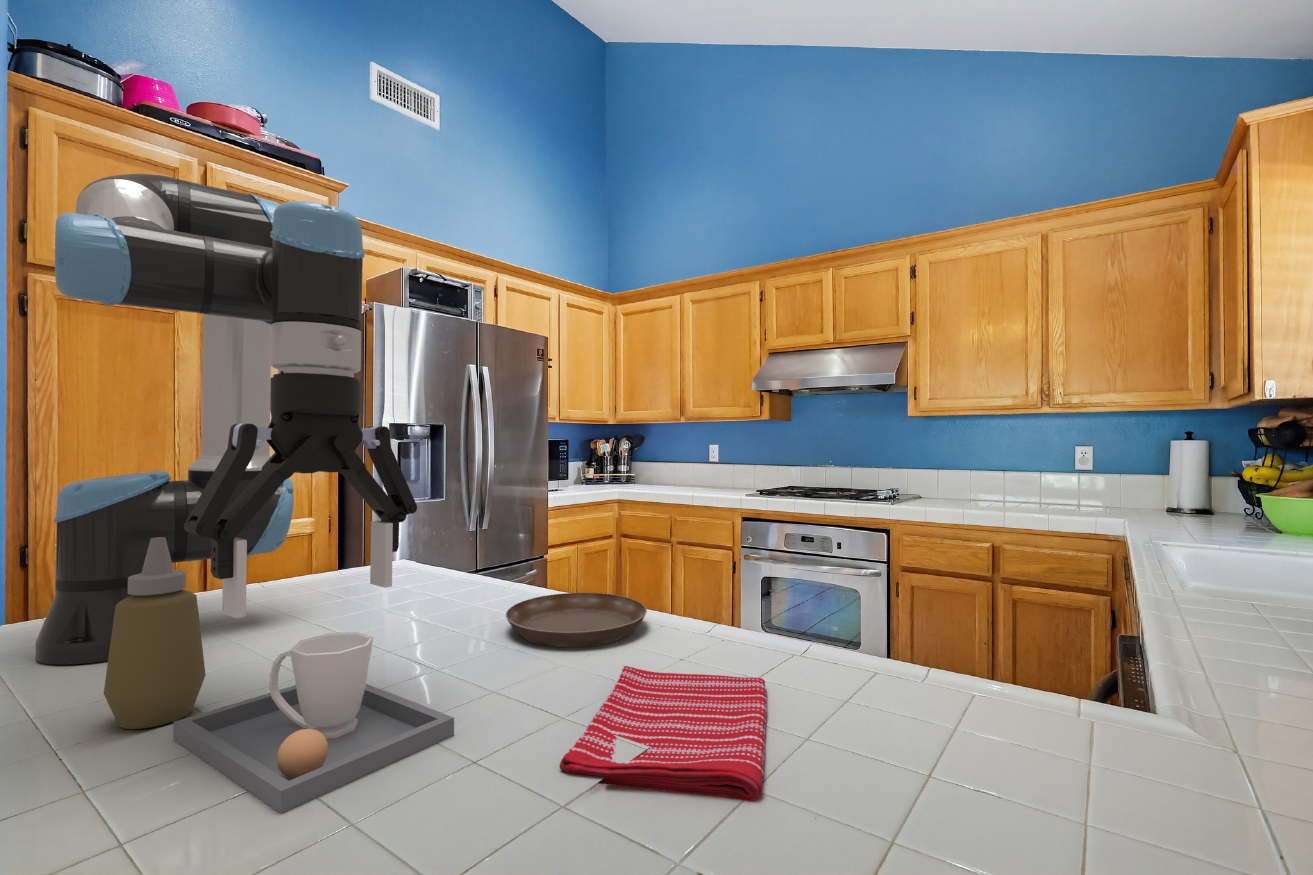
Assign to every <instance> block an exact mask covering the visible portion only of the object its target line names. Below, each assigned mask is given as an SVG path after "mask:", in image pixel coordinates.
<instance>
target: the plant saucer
mask: <svg viewBox="0 0 1313 875" xmlns="http://www.w3.org/2000/svg"><path fill="white" fill-rule="evenodd" d="M647 611H648V610H647V606H645V605H644V604H643V603H642V602H640V601H639V600H636V599H634V598H630V597H627V596H624V595H623V596H622V595H617V594H613V593H612V594H611V593H610V594H609V593H602V592H600V593H599V592H566V593H556V594H555V593H554V594H547V595H541V596H537V597H533V598H529V599H526V600H523V601H520V602H518V603H516V604H514V605H512V606H510V607H509V608H508V609H507V611H506V612H505V618H506V619H507V622H508V623H509V625H510V626H511V628H513V630H514V631H515V632H516V633H517V634H518V635H520V636H521V637H522V638H524V639H525V640H526V641H529V642H531V643H534V644H536V645H537V644H538V645H542V646H548V647H557V648H582V647H583V648H584V647H585V648H586V647H592V646H593V647H594V646H602V645H606V644H610V643H613V642H618V641H619V640H622V639H624V638H625V637H626V638H627V636H629V635H630V634H632V633H633V632H634V631H635V630H636V629H637V628H638V627H639V626H640V624H641V623H642V621H643V620H644V618H645V616H646V615H647V613H648V612H647Z"/></svg>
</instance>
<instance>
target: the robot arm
mask: <svg viewBox="0 0 1313 875" xmlns="http://www.w3.org/2000/svg"><path fill="white" fill-rule="evenodd" d="M362 229H363V228H362V225H361V222H360V221H359V219H358V218H357V217H356V216H355V215H353V214H352V213H350V212H349V211H347V210H345V209H342V208H340V207H337V206H335V205H334V206H333V205H329V204H324V203H322V202H321V203H320V202H319V203H318V202H315V201H299V200H297V201H288V202H284V203H281V204H280V202H278V201H277V202H276V201H274V200H269V199H266V198H262V197H259V196H256V195H254V194H252V193H243V192H238V191H233V190H230V189H224V188H219V187H215V186H211V185H207V184H206V185H205V184H202V183H198V182H192V181H189V180H188V181H187V180H183V179H178V178H176V177H173V176H172V177H171V176H166V175H160V174H151V173H150V174H149V173H129V174H127V173H126V174H117V175H111V176H105V177H102V178H99V179H97V180H95V181H92V182H91V183H89V184H87V185H86V186H85V187H84V188H83V189H82V191H81V192H80V193H79V195H78V197H77V200H76V204H75V212H64V213H62V214H59V216H58V217H57V218H56V221H55V227H54V231H55V232H54V275H55V276H54V277H55V287H56V288H57V290H58V291H59V293H60V294H61V295H63V296H64V297H67V298H71V299H76V300H83V301H91V302H97V303H100V304H103V305H106V306H112V307H113V306H117V305H119V306H128V307H129V306H130V307H139V308H149V309H156V310H157V309H158V310H168V311H177V312H186V313H196V314H200V315H201V314H202V371H201V372H202V374H201V376H202V379H201V382H202V383H201V384H202V385H201V448H200V449H201V451H200V452H201V454H200V455H199V456H200V457H198V458H197V459H196V460H195V461H194V462H193V463H191V464H190V465H189V466H188V468H187V479H186V480H171V477H172V476H171V475H170V473H169V472H168V471H167V470H159V471H158V470H157V471H147V472H138V473H137V472H136V473H128V474H120V475H113V476H112V475H111V476H105V477H97V478H90V479H84V480H79V481H73V482H70V483H68V484H66V485H64V486H63V487H62V488H61V489H60V491H59V492H58V494H57V498H56V499H57V501H56V511H55V512H56V513H55V517H54V518H53V523H54V524H55V523H56V531H55V532H56V534H55V537H56V540H55V544H56V545H55V575H54V577H55V578H54V579H55V583H54V584H55V586H54V598H53V600H52V602H51V605H50V607H49V609H48V612H47V615H46V616H45V619H44V622H43V624H42V626H41V629H40V631H39V633H38V636H37V639H36V640H35V653H34V654H35V655H34V656H35V657H34V658H35V661H36V662H38V663H41V664H48V665H60V666H61V665H78V664H80V665H81V664H90V663H91V664H92V663H100V662H106V661H107V662H108V657H109V650H110V643H111V635H112V628H113V621H114V613H115V607H116V604H118V603H119V602H120V601H121V600H123V599H125V598H127V597H130V596H132V595H130V594H128V578H129V577H130V576H133V575H136V574H141V573H142V569H143V565H144V562H145V558H146V554H147V551H148V547H149V543H150V539H151V538H157V537H165V538H166V542H167V546H168V550H169V554H170V557H171V561H172V564H173V563H182V562H183V563H184V562H195V561H204V560H210V573H211V575H212V577H213V578H215V579H218V580H222V596H221V600H222V602H221V603H222V604H221V605H222V606H221V614H224V615H226V616H229V617H231V618H234V619H241V618H247V616H246V615H247V567H248V566H247V560H248V557H250V556H253V555H260V554H267V553H268V554H269V553H273V552H274V551H276V550H278V549H279V548H280V547H281V546H282V545H283V543H284V542H285V541H286V539H287V536H288V532H289V531H290V527H291V523H292V519H293V511H294V503H295V502H294V501H295V497H294V496H295V495H294V484H293V481H292V479H291V477H292V476H293V475H294V474H295V473H296V474H305V475H306V474H315V473H318V472H321V473H339V474H340V475H342V476H343V477H344V478H345V479H346V480H347V481H348V483H349V484H350V485H351V486H352V487H353V489H354V490H355V491H356V492H357V493H358V495H359V496H360V497H361V498H362V500H364V503H366V504H367V505H368V506H369V508H371V510H372V511H373V513H374V514H376V516H377V517H378V518H379V520H371V521H370V568H369V569H370V572H369V573H370V576H369V577H370V579H369V580H370V581H369V584H370V585H373V586H377V587H381V588H390V587H393V553H395V552H398V550H399V547H400V523H403V522H405V520H406V518H407V515H409V514H415V513H416V512H417V511H418V504H417V503H416V500H415V498H414V496H413V493H412V491H411V490H410V489H411V488H410V486H409V484H408V483H407V480H406V478H405V475H404V473H403V470H402V469H401V467H400V464H399V462H398V459H397V458H396V455H395V453H394V451H393V449H392V441H391V432H390V429H389V428H388V427H387V426H383V425H381V426H380V425H379V426H377V425H376V426H375V425H373V426H371V425H370V426H367V428H361V426H360V423H359V417H360V414H361V408H362V405H361V404H362V402H361V400H362V393H361V392H362V388H361V387H362V382H361V381H360V380H359V378H356V377H355V374H357V373H359V372H361V369H362V368H361V367H362V363H361V362H362V358H361V357H362V316H363V315H362V312H363V311H362V310H363V309H362V308H363V304H362V303H363V265H364V264H363V261H364V260H363V259H364V258H365V251H364V249H363V248H364V245H363V244H364V243H363V230H362ZM272 368H273V369H275V370H277V372H278V373H275V374H273V376H272ZM360 444H362V445H363V447H364V448H366V449H367V452H368V455H369V457H370V460H371V462H372V464H373V466H374V468H375V470H376V472H377V475H378V477H379V479H380V482H381V483H382V486H383V488H384V489H383V488H382V487H381V486H380V484H379V482H377V480H376V479H375V478H374V477H373V476H372V474H371V473H370V472H369V470H368V469H367V468H366V464H365V462H364V461H363V460H362V458H361V457H360V456H359V455H358V454H357V453H356V450H357V449H358V447H359V446H360ZM270 448H271V449H272V450H273V451H274V453H273V454H272V455H271V454H270V453H271V452H270V450H271V449H270Z"/></svg>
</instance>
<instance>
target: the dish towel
mask: <svg viewBox="0 0 1313 875" xmlns="http://www.w3.org/2000/svg"><path fill="white" fill-rule="evenodd" d="M614 685H615V686H614V688H613V689H612V690H611V692H610V693H609V695H608V696H607V698H606V699H605V700H604V701H603V703H602V704H601V705H600V707H599V709H598V710H597V711H596V714H595V715H594V716H593V718H592V719H591V720H590V722H589V724H588V726H587V728H586V730H585V731H584V733H583V734H582V735H581V736H579V738H578V740H577V741H576V742H575V744H574V745H573V746H572V747H571V748H569V751H568V752H566V753H565V754H564V755H563V756H562V757H563V758H561V760H560V763H559V769H560V770H563V771H564V772H567V773H569V774H585V775H589V776H603V778H602V779H601V780H599V781H598V782H596V784H598V785H609V786H617V787H626V788H634V789H642V790H652V791H659V792H661V791H662V792H672V793H679V794H686V795H687V794H689V795H696V796H708V797H715V798H716V797H717V798H726V799H727V798H728V799H732V800H733V799H734V800H739V801H744V802H745V801H747V802H754V801H755V800H758V799H759V798H760V797H761V795H762V792H763V780H764V779H763V778H764V774H765V771H764V768H765V767H764V766H765V749H766V748H765V747H766V746H765V742H766V741H765V740H766V736H767V734H766V727H767V717H768V716H767V715H768V710H767V709H768V706H767V703H768V699H767V687H766V681H765V680H764V678H761V677H741V676H740V677H739V676H732V675H721V674H720V675H719V674H718V675H712V674H703V673H702V674H701V673H699V674H695V673H677V672H673V673H672V672H656V671H650V670H644V669H639V668H637V667H633V666H627V665H624V666H623V668H622V670H621V672H620V674H619V677H618V679H617V681H616V683H615V684H614ZM618 737H619V738H623V739H625V740H629V741H632V742H635V743H638V744H641V745H643V746H646V747H648V748H646V749H645V750H644V751H642V752H641V753H639V754H638V755H637V756H635V757H633V758H632V759H631V760H629V761H627V762H617V760H615V759H613V756H612V755H616V752H615V749H616V748H617V745H618V743H614V742H616V741H617V739H618Z"/></svg>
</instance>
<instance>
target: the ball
mask: <svg viewBox="0 0 1313 875" xmlns="http://www.w3.org/2000/svg"><path fill="white" fill-rule="evenodd" d="M327 754H328V743H327V740H326V738H325V737H324V735H323V734H322V733H320V732H319V731H317V730H314V729H302V730H299V731H296V732H294V733H292V734H291V735H290V736H288V737H287V738H286V739H285V740H284V741H283V743H282V744H281V746H280V748H279V750H278V754H277V764H278V768H279V770H280V771H281V772H282V773H283V774H284V775H285V776H287V777H289V778H293V779H294V778H297V777H299V776H302V775H304V774H306V773H309V772H311V771H314V770H316V769H318V768H320V767H321V766H322V765H323V763H324V762H325V760H326V757H327Z"/></svg>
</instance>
